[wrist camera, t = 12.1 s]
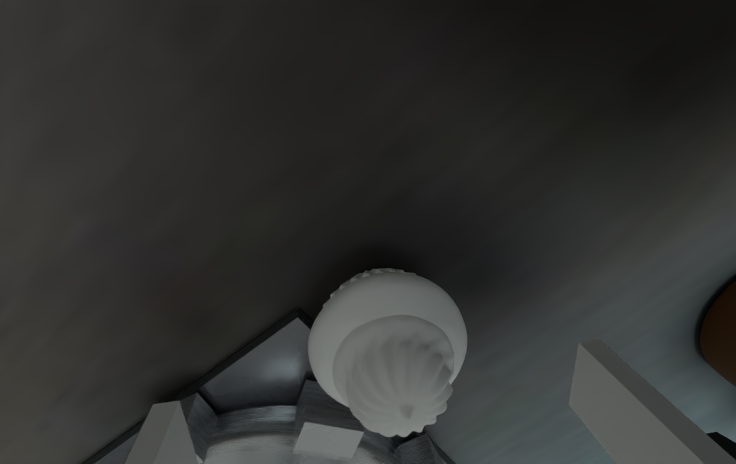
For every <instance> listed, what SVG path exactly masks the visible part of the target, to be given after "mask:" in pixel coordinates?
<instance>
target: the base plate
mask: <svg viewBox="0 0 736 464" xmlns="http://www.w3.org/2000/svg"><path fill="white" fill-rule="evenodd" d="M313 324H314V323H313V322H312V321H311V320H310V319H309V318H308V317H307V316H306V315H305V314H304V313H303V312H302V311H301V310H300V309H299V308H297V309H296V310H294V311H293V312H291V313H290V314H289V315H287V316H286V317H285V318H283V319H282V320H280V321H279V322H278V323H276V324H275V325H274V326H272V327H271V328H269V329H268V330H267V331H265V332H264V333H262V334H261V335H260V336H258V337H257V338H256V339H254V340H253V341H251V342H250V343H249V344H247V345H246V346H244V347H243V348H242V349H240V350H239V351H238V352H236V353H235V354H233V355H232V356H231V357H229V358H228V359H227V360H225V361H224V362H222V363H221V364H220V365H218V366H217V367H215V368H214V369H213V370H211V371H210V372H209V373H207V374H206V375H204V376H203V377H202V378H200V379H199V380H197V381H196V382H195V383H193V384H192V385H191V386H189V387H188V388H186V389H185V390H184V391H182V392H181V393H180V394H178V395H177V396H175V397H174V398H173V399H171V400H170V401H168V402H173V401H180V400H182V399H184V398H186V397H189V396H191V395H193V394H195V393H198V394H199V395H200V396H201V397H202V398H203V399H204V401H205V402H206V403H207V404H208V405H209V406H210V408H211V409H212V410H213V411H214V412H215V413H216V414H217V415H221V414H225V413H228V412H232V411H237V410H242V409H248V408H254V407H264V406H278V405H282V406H296V404H297V402H298V399H299V397H300V394H301V392H302V389H303V386H304V384H305V381H306V380H310V381H315V382H318V381H317V379H316V378H315V375H314V373H313V371H312V368H311V365H310V361H309V356H308V340H309V335H310V331H311V328H312V326H313ZM145 419H146V418H145ZM145 419H144V420H142V421H141V422H139V423H138V424H137V425H135V426H134V427H133V428H131V429H130V430H128V431H127V432H126V433H124V434H123V435H121V436H120V437H119V438H117V439H116V440H115V441H113V442H112V443H110V444H109V445H108V446H106V447H105V448H103V449H102V450H101V451H99V452H98V453H97V454H95V455H94V456H92V457H91V458H90V459H88V460H87V461H86V462H84V463H83V464H123V463H124V461H125V459H126V457H127V455H128V453H129V451H130V449H131V447H132V445H133V443H134V441H135V439H136V437H137V435H138V433H139V431H140V429H141V427H142V425H143V423H144V421H145ZM424 434H425V433H424V432H423V431H422V432H420V433H419V432H416V431H412V432H411V433H410V434H409V435H408V436H406V437H401V436H399V435H397V434H396V435H395V436H392V437H390V438H391V439H392V440H393V441H394V442H395V443H396V444H397V445H398V446H399V445H401V444H403V443H406V442H408V441H410V440H412V439H415V438H417V437H419V436H422V435H424ZM430 440H431V439H430ZM431 442H432V444H433V445H434V447H435V449H436V451H437V453H438V454H439V456H440V458H441V460H442V461H443V463H444V464H455V463H454V462H453V461H452V460H451V459H450V458H449V457H448V456H447V455H446V454H445V453H444V452H443V451H442V450H441V449H440V448H439V447H438V446H437V445H436V444H435V443H434V442H433V441H432V440H431Z"/></svg>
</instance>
